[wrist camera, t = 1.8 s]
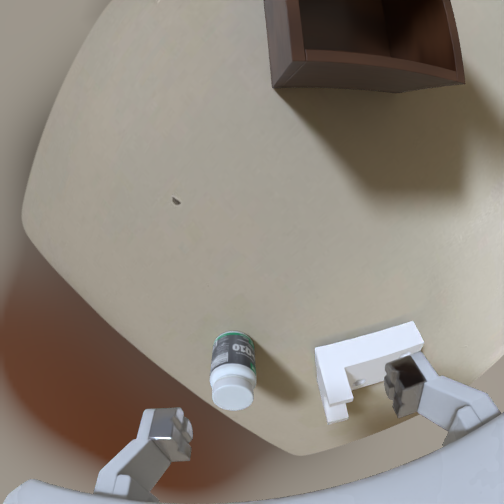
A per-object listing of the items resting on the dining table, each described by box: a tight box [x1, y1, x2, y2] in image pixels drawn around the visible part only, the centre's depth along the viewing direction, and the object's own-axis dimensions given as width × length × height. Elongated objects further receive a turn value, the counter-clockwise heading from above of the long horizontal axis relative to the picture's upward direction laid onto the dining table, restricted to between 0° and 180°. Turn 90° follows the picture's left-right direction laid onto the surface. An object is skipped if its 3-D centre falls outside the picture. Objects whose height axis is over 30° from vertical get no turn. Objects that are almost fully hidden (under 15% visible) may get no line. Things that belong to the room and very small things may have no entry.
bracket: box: [315, 321, 424, 425], centre depth 33 cm, size 13×7×8 cm, turn 102°
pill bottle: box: [210, 331, 256, 411], centre depth 30 cm, size 5×5×8 cm
